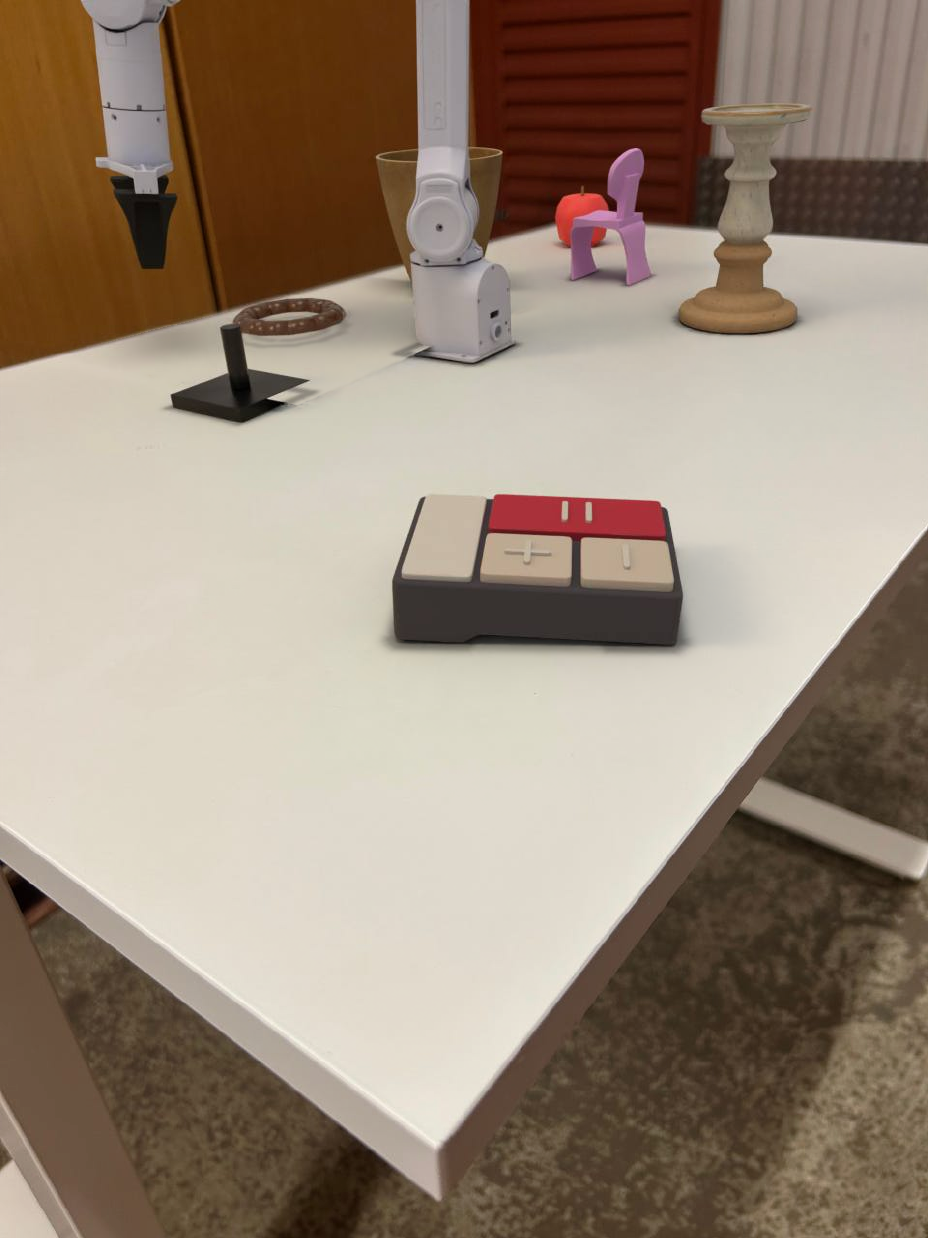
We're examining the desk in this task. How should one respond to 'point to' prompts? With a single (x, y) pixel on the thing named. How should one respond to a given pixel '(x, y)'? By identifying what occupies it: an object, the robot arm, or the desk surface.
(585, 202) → the apple
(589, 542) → the calculator
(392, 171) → the plant pot
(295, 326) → the ring
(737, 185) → the candle holder
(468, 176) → the robot arm
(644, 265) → the toy chair
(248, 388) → the peg stand
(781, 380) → the desk surface
